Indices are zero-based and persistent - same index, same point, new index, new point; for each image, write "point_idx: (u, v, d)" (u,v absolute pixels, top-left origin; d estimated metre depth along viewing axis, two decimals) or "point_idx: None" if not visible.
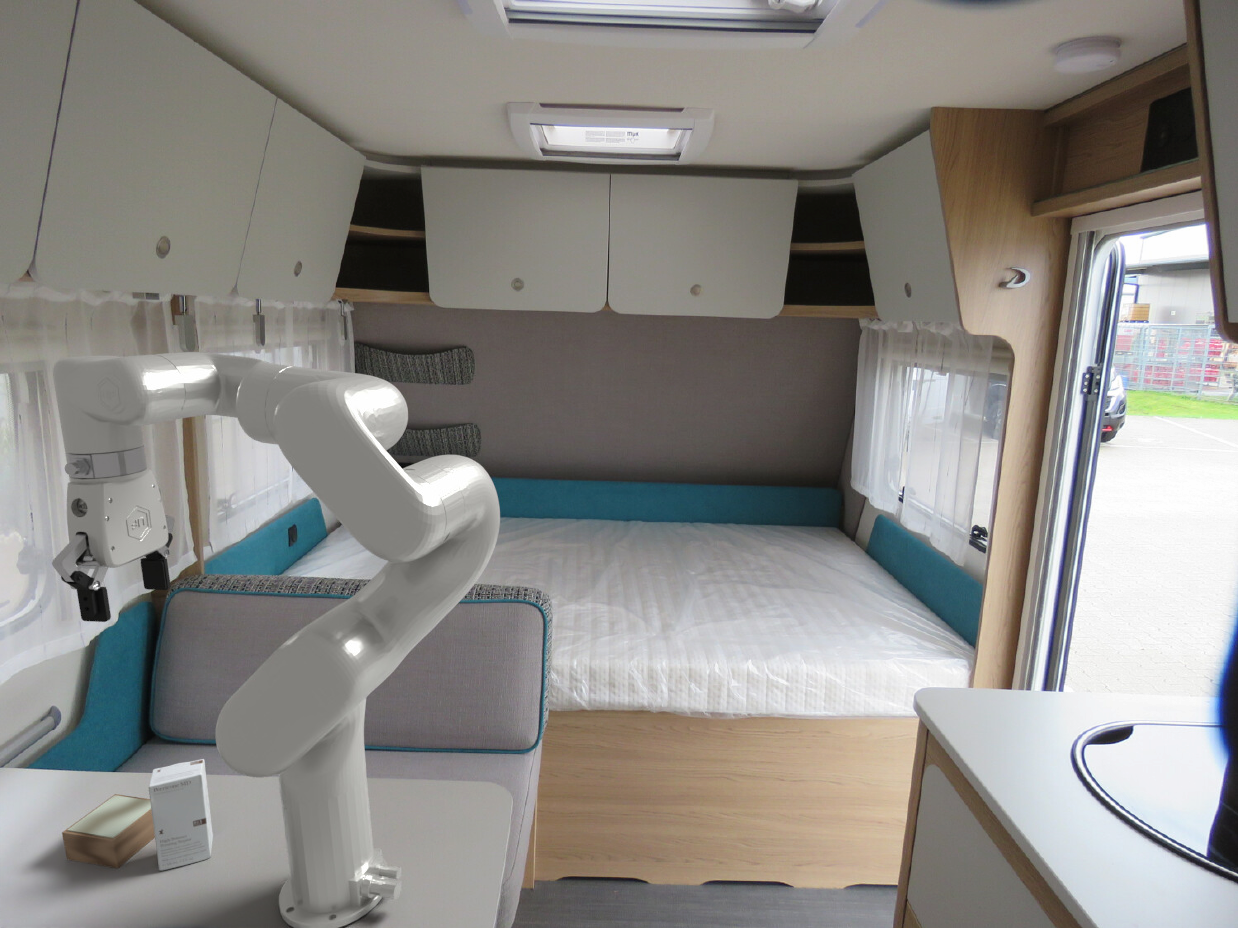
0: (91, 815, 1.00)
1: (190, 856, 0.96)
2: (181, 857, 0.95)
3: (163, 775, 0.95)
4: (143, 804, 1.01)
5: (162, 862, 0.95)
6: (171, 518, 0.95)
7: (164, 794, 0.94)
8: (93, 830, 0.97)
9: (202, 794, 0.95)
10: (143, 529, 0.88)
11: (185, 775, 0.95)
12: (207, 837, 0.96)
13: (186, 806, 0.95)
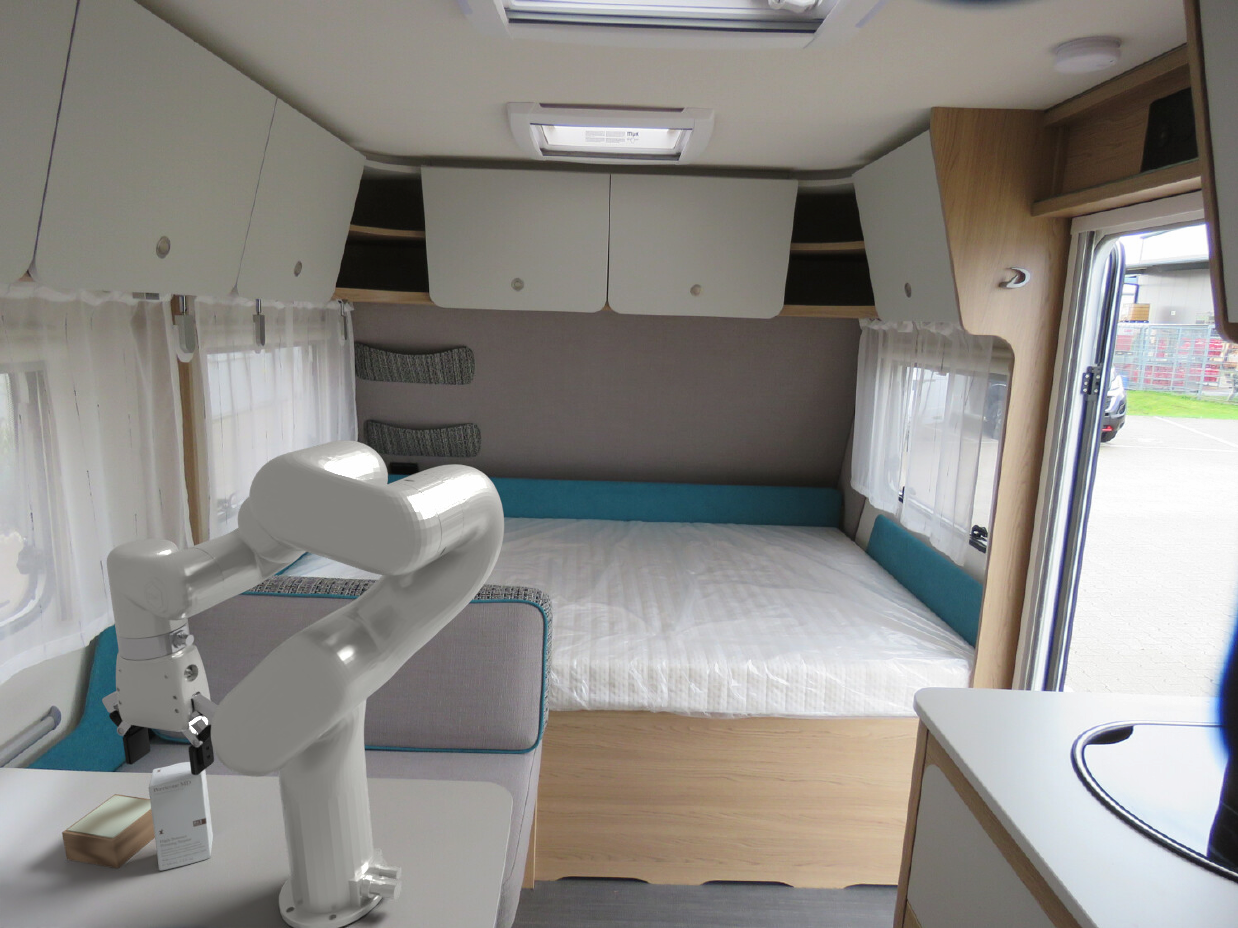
0: (91, 815, 1.00)
1: (190, 856, 0.96)
2: (181, 857, 0.95)
3: (163, 775, 0.95)
4: (143, 804, 1.01)
5: (162, 862, 0.95)
6: None
7: (164, 794, 0.94)
8: (93, 830, 0.97)
9: (202, 794, 0.95)
10: None
11: (185, 775, 0.95)
12: (207, 837, 0.96)
13: (186, 806, 0.95)
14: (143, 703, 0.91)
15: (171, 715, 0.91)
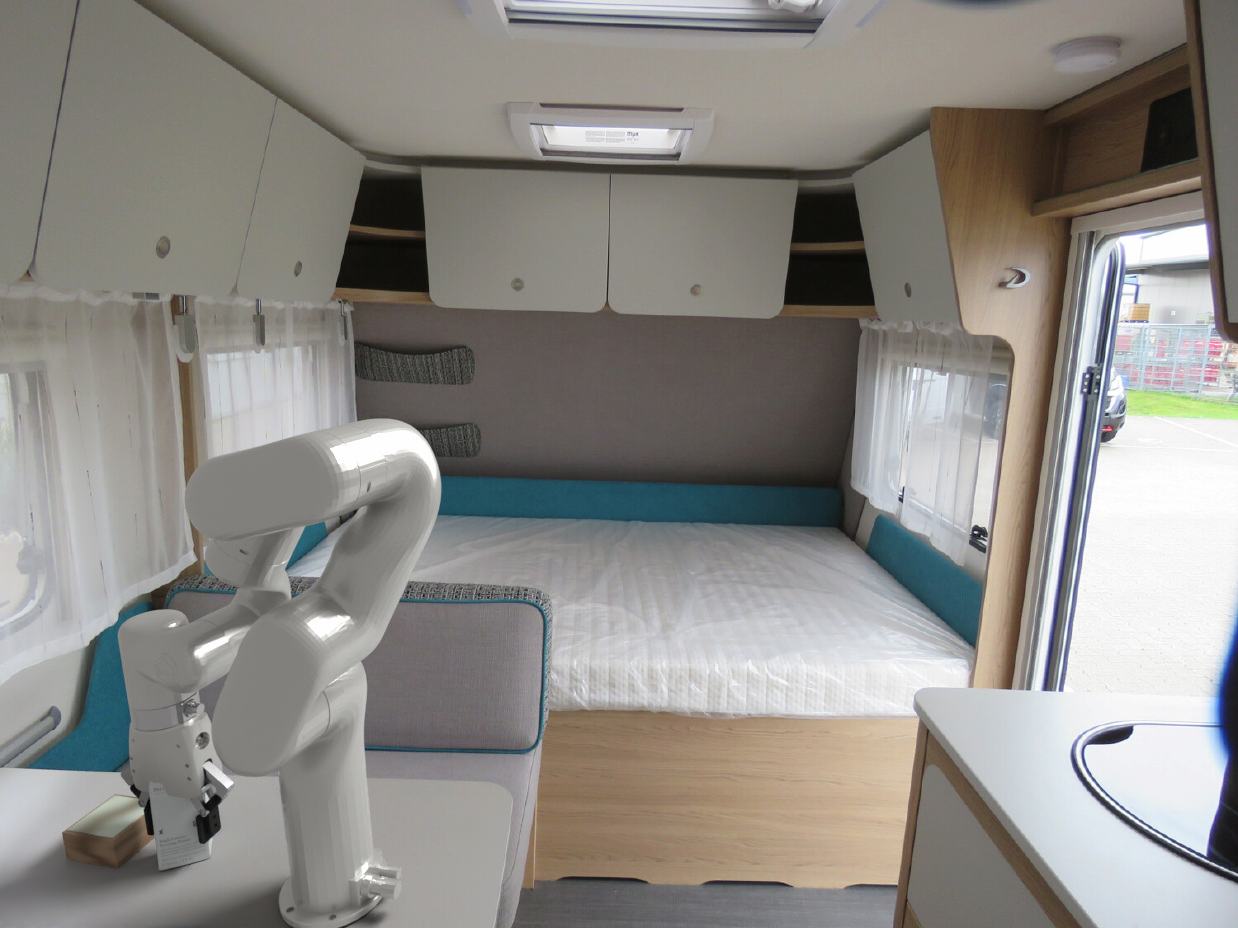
0: (91, 815, 1.00)
1: (190, 856, 0.96)
2: (181, 857, 0.95)
3: None
4: None
5: (162, 862, 0.95)
6: None
7: (164, 794, 0.94)
8: (93, 830, 0.97)
9: (202, 794, 0.95)
10: None
11: None
12: None
13: (185, 806, 0.95)
14: (156, 771, 0.93)
15: (184, 783, 0.93)
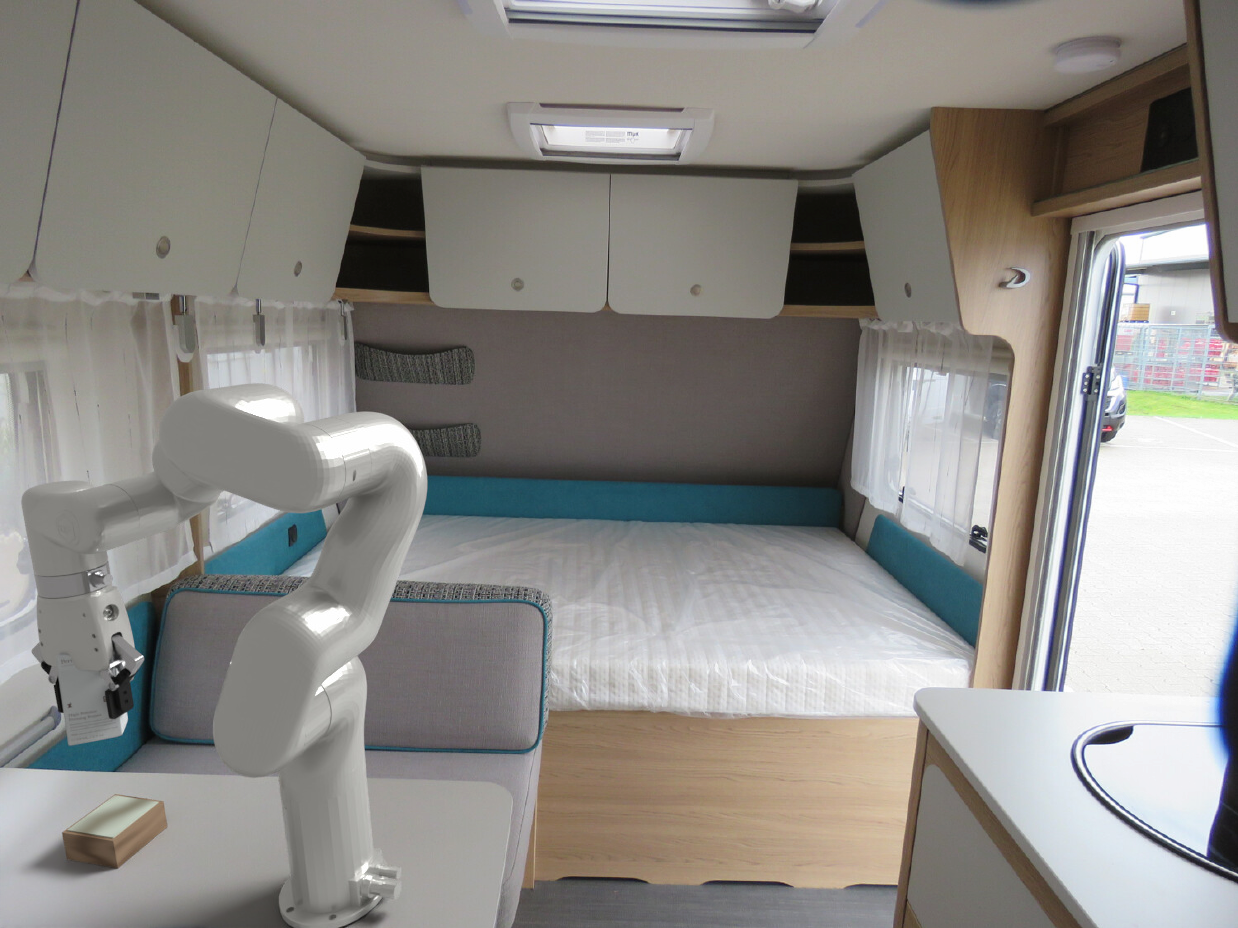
0: (91, 815, 1.00)
1: (101, 733, 0.95)
2: (91, 733, 0.94)
3: None
4: (143, 804, 1.01)
5: (71, 737, 0.94)
6: None
7: (73, 666, 0.93)
8: (93, 830, 0.97)
9: (112, 669, 0.94)
10: None
11: None
12: None
13: (95, 680, 0.94)
14: (63, 643, 0.92)
15: (91, 654, 0.92)
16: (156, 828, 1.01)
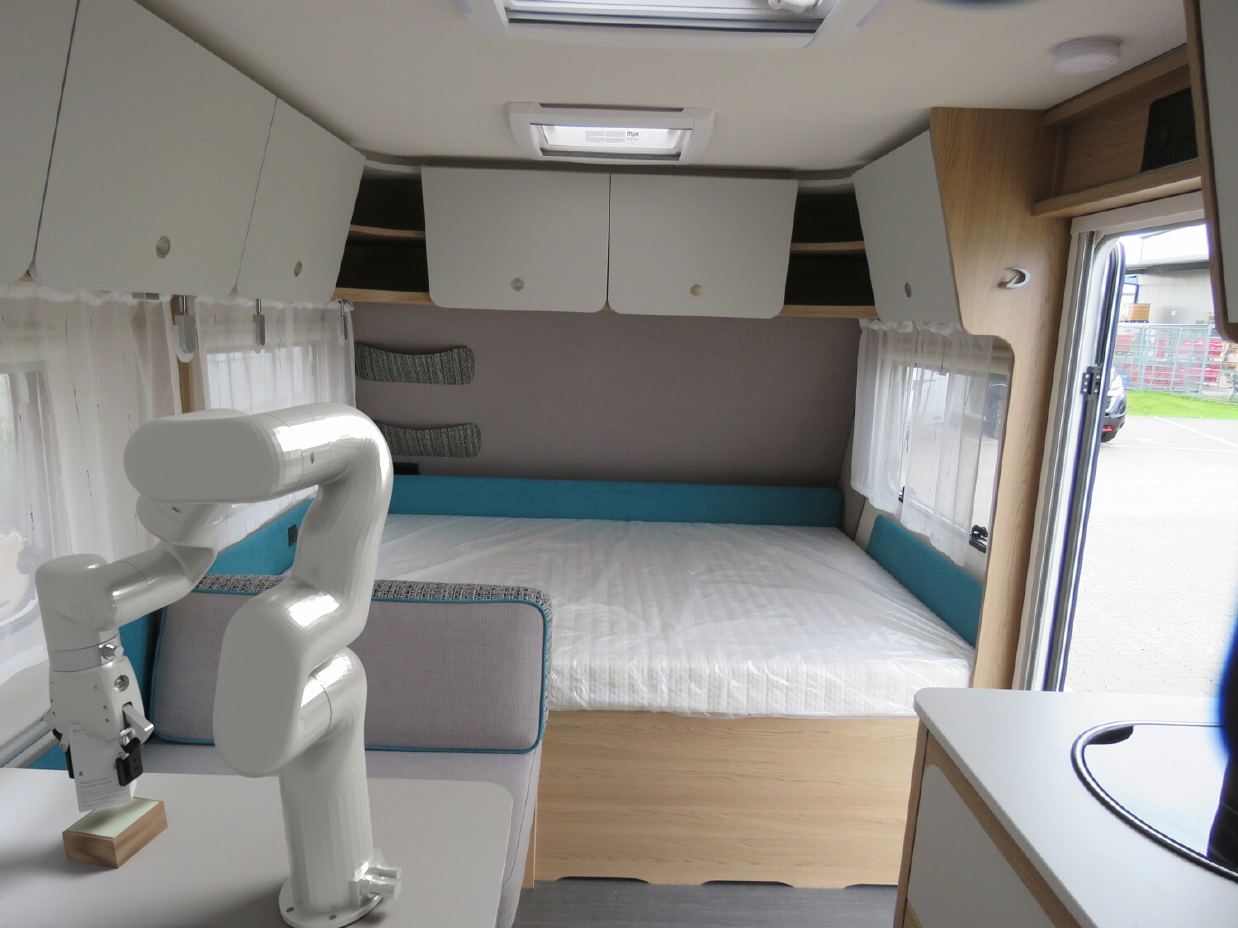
0: (91, 815, 1.00)
1: (111, 799, 0.97)
2: (101, 799, 0.96)
3: None
4: (143, 804, 1.01)
5: (82, 804, 0.96)
6: None
7: (84, 735, 0.95)
8: (93, 830, 0.97)
9: (122, 737, 0.96)
10: None
11: None
12: None
13: (106, 748, 0.96)
14: (75, 713, 0.94)
15: (102, 724, 0.94)
16: (156, 828, 1.01)
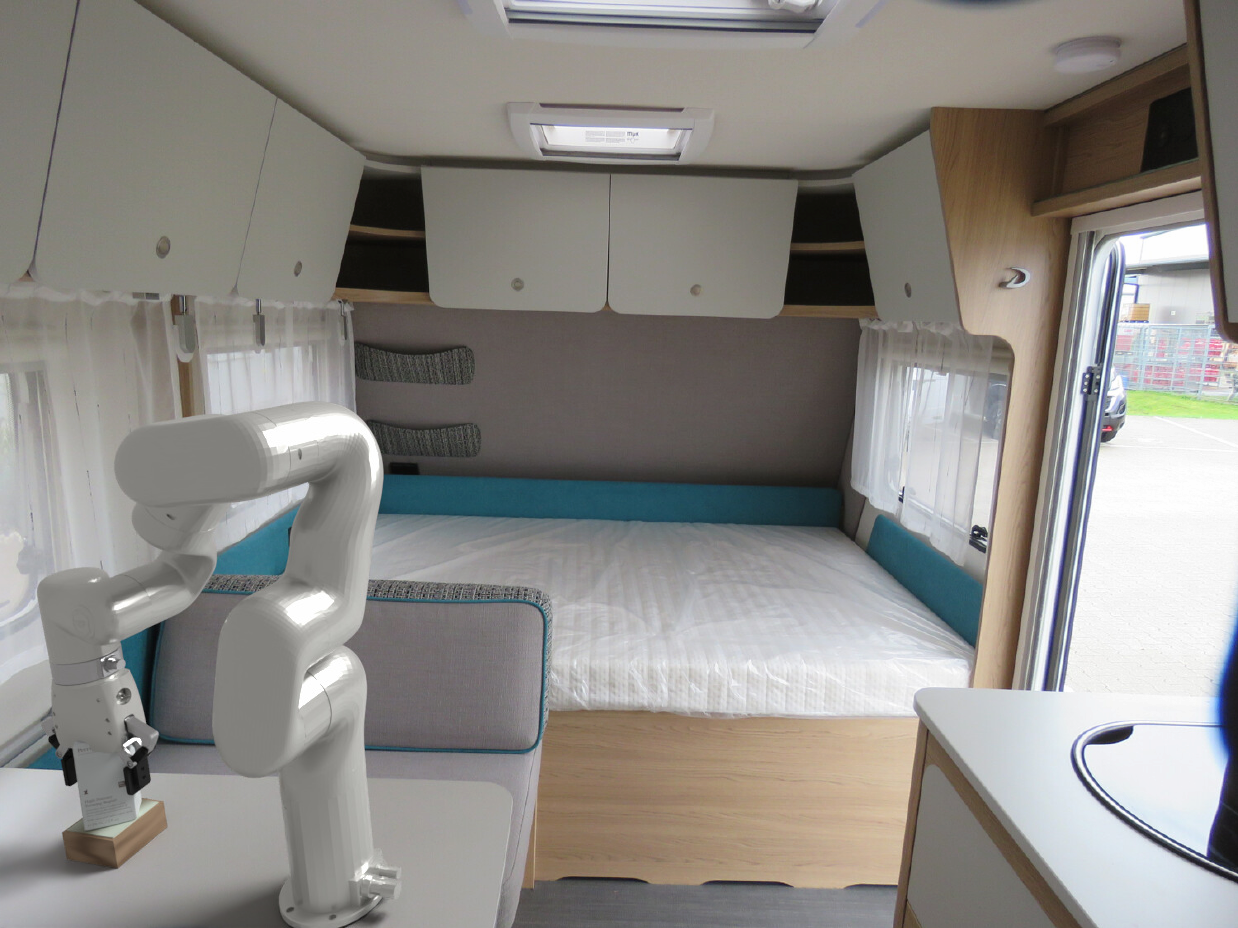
0: None
1: (116, 817, 0.97)
2: (106, 818, 0.97)
3: None
4: (143, 804, 1.01)
5: (87, 822, 0.96)
6: None
7: (89, 754, 0.95)
8: (93, 830, 0.97)
9: None
10: None
11: None
12: (133, 798, 0.98)
13: (111, 767, 0.96)
14: (78, 726, 0.94)
15: (104, 737, 0.94)
16: (156, 828, 1.01)
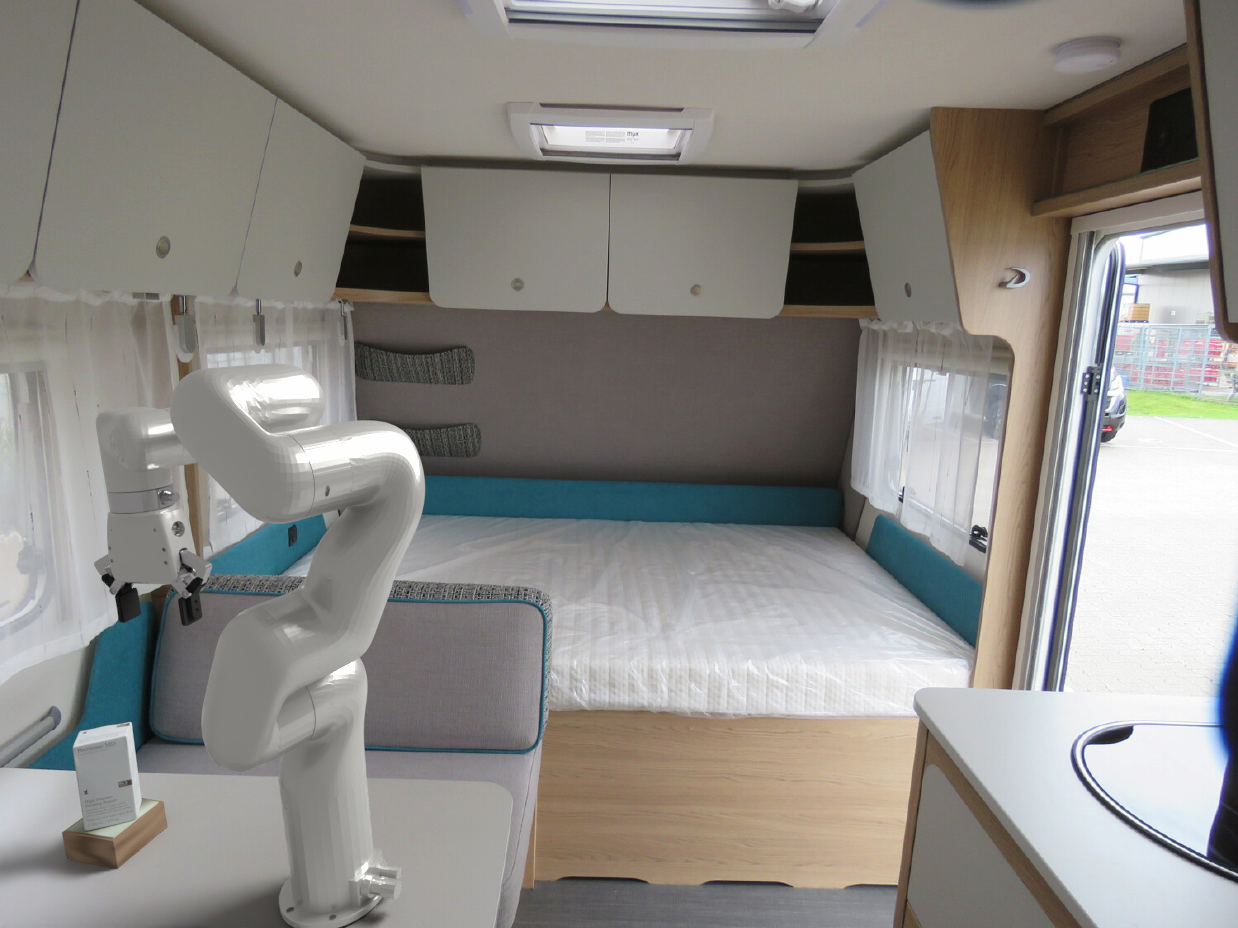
0: None
1: (116, 817, 0.97)
2: (106, 818, 0.97)
3: (88, 736, 0.96)
4: (143, 804, 1.01)
5: (87, 822, 0.96)
6: None
7: (89, 754, 0.95)
8: (93, 830, 0.97)
9: (127, 755, 0.97)
10: None
11: (110, 736, 0.96)
12: (133, 798, 0.98)
13: (111, 767, 0.96)
14: (134, 558, 0.98)
15: (161, 567, 0.98)
16: (156, 828, 1.01)
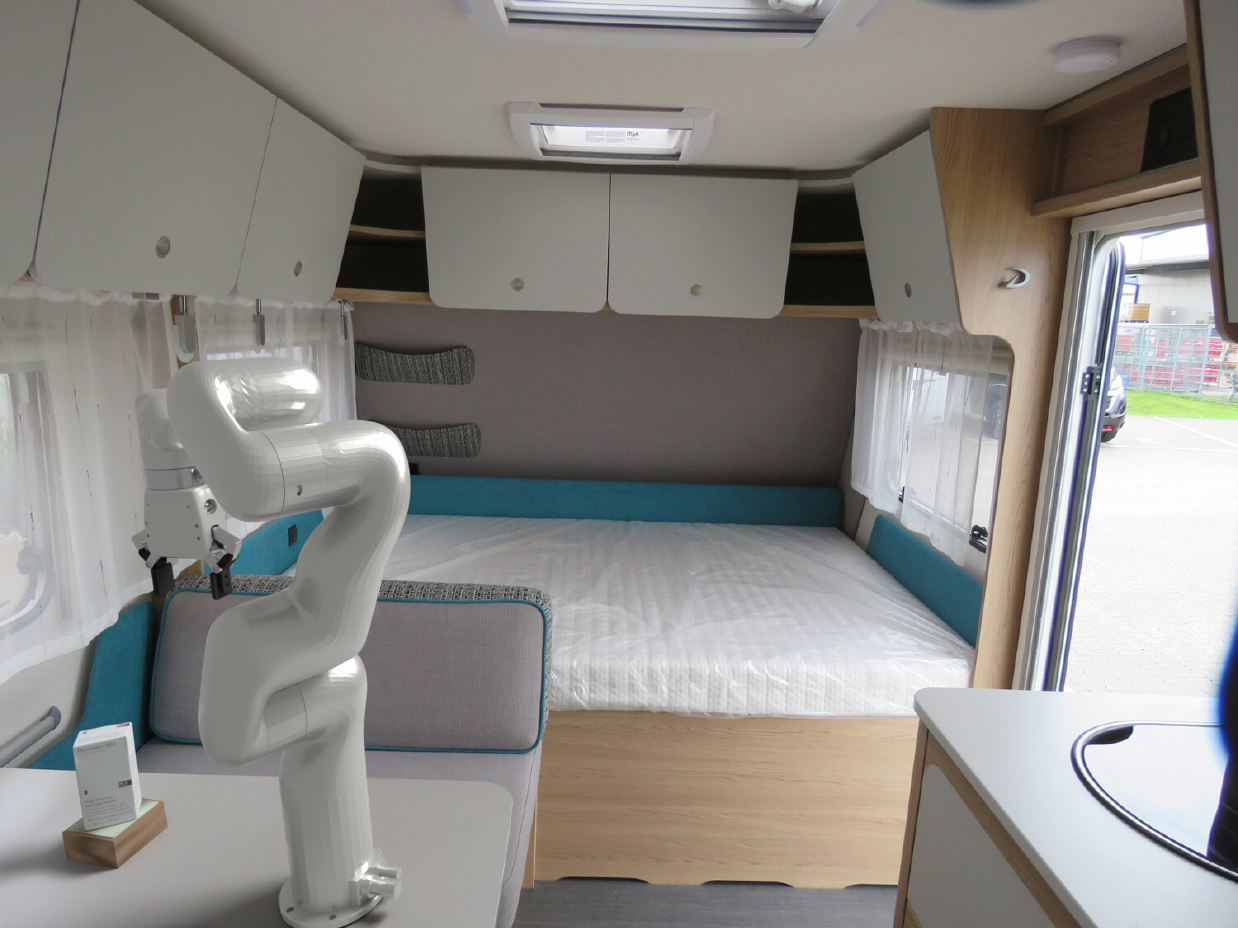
0: None
1: (116, 817, 0.97)
2: (106, 818, 0.97)
3: (88, 736, 0.96)
4: (143, 804, 1.01)
5: (87, 822, 0.96)
6: None
7: (89, 754, 0.95)
8: (93, 830, 0.97)
9: (127, 755, 0.97)
10: None
11: (110, 736, 0.96)
12: (133, 798, 0.98)
13: (111, 767, 0.96)
14: (168, 533, 1.02)
15: (194, 543, 1.02)
16: (156, 828, 1.01)
